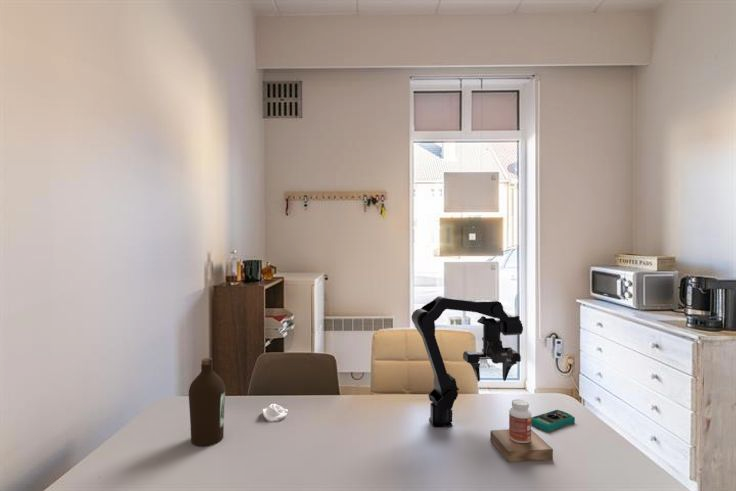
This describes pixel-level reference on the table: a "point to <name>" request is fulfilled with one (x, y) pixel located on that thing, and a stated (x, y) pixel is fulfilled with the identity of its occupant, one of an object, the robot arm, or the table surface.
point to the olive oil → (207, 406)
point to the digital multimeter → (552, 420)
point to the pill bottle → (520, 421)
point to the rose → (274, 413)
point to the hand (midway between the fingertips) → (491, 380)
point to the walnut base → (521, 447)
